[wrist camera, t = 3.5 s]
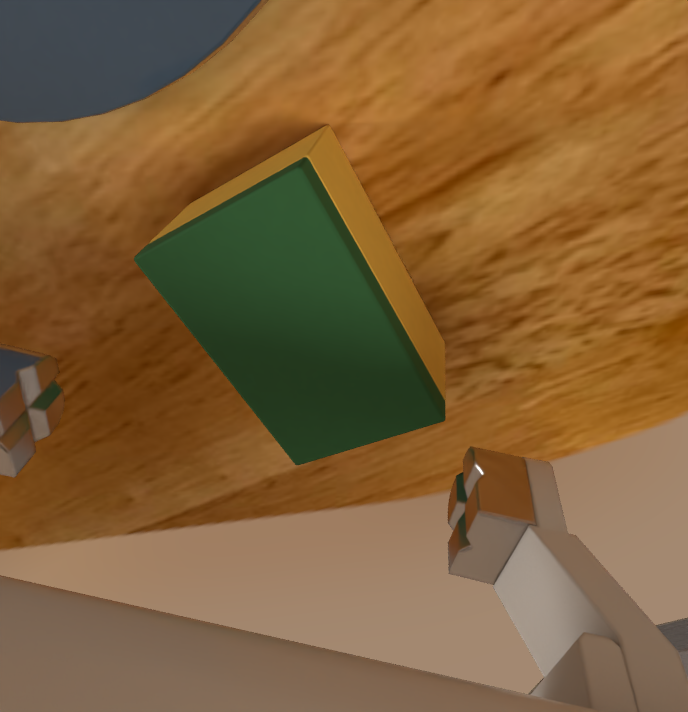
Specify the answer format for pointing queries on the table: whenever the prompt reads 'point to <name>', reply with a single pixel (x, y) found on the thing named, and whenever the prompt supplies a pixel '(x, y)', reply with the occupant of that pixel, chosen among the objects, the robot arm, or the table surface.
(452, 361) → the table surface
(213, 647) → the robot arm
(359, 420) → the sponge
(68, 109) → the plate
